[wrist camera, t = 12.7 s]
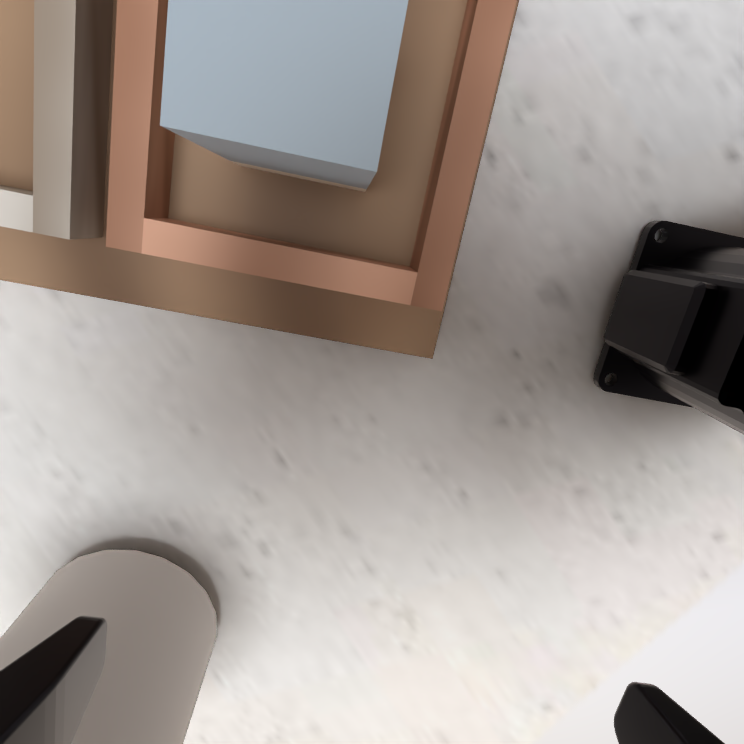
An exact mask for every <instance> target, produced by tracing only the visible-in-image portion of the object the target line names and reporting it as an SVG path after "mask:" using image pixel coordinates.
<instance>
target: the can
mask: <svg viewBox="0 0 744 744" xmlns="http://www.w3.org/2000/svg"><path fill="white" fill-rule="evenodd" d="M82 615H85V616H93V617H102V618H104V619H106V621H107V642H106V658H105V663H104V667H103V670H102V673H101V676H100V678H99V680H98V683H97V685H96V687H95V690H94V692H93V694H92V697H91V699H90V701H89V704H88V706H87V708H86V711H85V713H84V715H83V718H82V720H81V722H80V725H79V727H78V729H77V732H76V734H75V736H74V739H73V741H72V743H71V744H183V742H184V739H185V736H186V732H187V729H188V726H189V723H190V720H191V717H192V713H193V710H194V707H195V704H196V701H197V698H198V694H199V691H200V688H201V685H202V682H203V679H204V676H205V672H206V669H207V666H208V663H209V660H210V657H211V653H212V650H213V647H214V644H215V641H216V638H217V619H216V611H215V609H214V607H213V605H212V603H211V600H210V598H209V596H208V594H207V591H206V590H205V589H204V588H203V587H202V586H201V585H200V584H199V583H198V582H197V581H196V580H195V579H194V578H193V576H192V575H191V574H190V573H189V572H187V571H186V570H184V569H182V568H180V567H179V566H177V565H175V564H174V563H172V562H170V561H169V560H167V559H165V558H163V557H159V556H155V555H152V554H148V553H145V552H141V551H137V550H102V551H99V552H95V553H91V554H87V555H83V556H80V557H77V558H76V559H74V560H73V561H71V562H70V563H68V564H67V565H65V566H63V567H62V568H60V569H59V570H57V571H56V572H55V573H54V575H53V576H52V577H51V578H50V579H49V581H48V582H47V583H46V584H45V585H44V587H43V588H42V589H41V590H40V591H39V593H38V594H37V595H36V596H35V597H34V599H33V600H32V601H31V602H30V603H29V605H28V606H27V607H26V608H25V609H24V611H23V612H22V613H21V614H20V615H19V617H18V618H17V619H16V620H15V621H14V623H13V624H12V625H11V626H10V627H9V629H8V630H7V631H6V632H5V633H4V635H3V636H2V637H1V638H0V670H2V669H3V668H4V667H6V666H7V665H9V664H10V663H12V662H13V661H14V660H16V659H17V658H19V657H20V656H22V655H23V654H25V653H26V652H27V651H29V650H30V649H32V648H33V647H35V646H36V645H37V644H39V643H40V642H42V641H43V640H45V639H46V638H47V637H49V636H50V635H52V634H53V633H55V632H56V631H57V630H59V629H60V628H62V627H63V626H65V625H66V624H67V623H69V622H70V621H72V620H73V619H75V618H76V617H79V616H82Z"/></svg>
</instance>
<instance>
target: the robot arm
mask: <svg viewBox="0 0 744 744" xmlns="http://www.w3.org/2000/svg"><path fill="white" fill-rule="evenodd" d="M658 229H660V230H661V232H662V237H661V238H660V240H659V241H656V240H655V233H656V231H657V230H658ZM604 339H605V344H604V347H603V350H602V352H601V355H600V358H599V361H598V364H597V367H596V370H595V373H594V383H595V384H596V385H597V386H598V387H599V388H601V389H602V390H604V391H607V392H612V393H617V394H623V395H628V396H634V397H639V398H645V399H650V400H656V401H661V402H667V403H672V404H678V405H683V406H689V407H694V408H696V409H698V410H700V411H702V412H704V413H705V414H707V415H709V416H711V417H713V418H715V419H716V420H718V421H720V422H722V423H724V424H726V425H728V426H729V427H731V428H733V429H735V430H737V431H739V432H740V433H742V434H744V238H741V237H736V236H732V235H727V234H723V233H718V232H714V231H709V230H705V229H700V228H696V227H691V226H687V225H682V224H678V223H673V222H669V221H654V222H651V223H649V224H648V225H647V226H646V227H645V228H644V230H643V232H642V235H641V238H640V241H639V244H638V246H637V249H636V252H635V255H634V258H633V261H632V264H631V267H630V270H629V272H628V273H626V274H625V275H624V277H623V280H622V283H621V286H620V289H619V292H618V295H617V298H616V301H615V304H614V307H613V310H612V313H611V316H610V319H609V322H608V325H607V328H606V331H605V334H604ZM610 373H612V378H611V380H610V381H609V382H605V377H606V376H607V375H608V374H610ZM106 642H107V621H106V619H104V618H102V617H93V616H85V615H82V616H79V617H76V618H75V619H73V620H72V621H70V622H69V623H67V624H66V625H65V626H63V627H62V628H60V629H59V630H57V631H56V632H55V633H53V634H52V635H50V636H49V637H47V638H46V639H45V640H43V641H42V642H40V643H39V644H37V645H36V646H35V647H33V648H32V649H30V650H29V651H27V652H26V653H25V654H23V655H22V656H20V657H19V658H17V659H16V660H14V661H13V662H12V663H10V664H9V665H7V666H6V667H4V668H3V669H2V670H0V744H71V743H72V741H73V739H74V736H75V734H76V732H77V729H78V727H79V725H80V722H81V720H82V718H83V715H84V713H85V711H86V708H87V706H88V704H89V701H90V699H91V697H92V694H93V692H94V690H95V687H96V685H97V683H98V680H99V678H100V676H101V673H102V670H103V667H104V663H105V658H106ZM614 728H615V733H616V736H617V739H618V742H619V744H724V743H723V742H722V741H721V740H720V739H718V738H717V737H716V736H715V735H714V734H713V733H711V732H710V731H709V730H708V729H707V728H706V727H704V726H703V725H702V724H701V723H700V722H698V721H697V720H696V719H695V718H694V717H692V716H691V715H690V714H689V713H688V712H687V711H685V710H684V709H683V708H682V707H681V706H679V705H678V704H677V703H676V702H675V701H674V700H672V699H671V698H670V697H669V696H668V695H666V694H665V693H664V692H663V691H662V690H660V689H659V688H658V687H656V686H654V685H652V684H646V683H638V682H632V683H630V684H629V685H628V686H627V688H626V690H625V692H624V695H623V697H622V699H621V702H620V704H619V706H618V708H617V711H616V713H615V716H614Z"/></svg>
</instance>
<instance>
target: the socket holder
mask: <svg viewBox="0 0 744 744" xmlns="http://www.w3.org/2000/svg"><path fill="white" fill-rule="evenodd" d="M518 2H519V0H408V5H407V11H406V16H405V22H404V27H403V33H402V38H401V44H400V49H399V54H398V60H397V65H396V71H395V76H394V82H393V87H392V92H391V98H390V103H389V109H388V114H387V120H386V125H385V131H384V136H383V141H382V147H381V152H380V158H379V163H378V169H377V173H376V174H375V176H374V178H373V179H372V181H371V183H370V185H369V186H368V188H367V190H366V191H365V192H362V191H358V190H353V189H348V188H343V187H338V186H334V185H329V184H324V183H319V182H314V181H310V180H305V179H300V178H295V177H291V176H286V175H281V174H276V173H271V172H267V171H262V170H257V169H252V168H248V167H243V166H239V165H237V164H235V163H233V162H231V161H229V160H227V159H225V158H223V157H221V156H219V155H217V154H215V153H213V152H211V151H209V150H207V149H206V148H204V147H202V146H200V145H198V144H196V143H194V142H192V141H190V140H188V139H186V138H184V137H182V136H180V135H178V134H176V133H174V132H172V131H170V130H168V129H166V128H164V127H162V126H160V116H161V101H162V86H163V71H164V56H165V42H166V27H167V12H168V0H0V280H4V281H10V282H15V283H21V284H26V285H32V286H37V287H43V288H48V289H54V290H59V291H64V292H70V293H75V294H81V295H86V296H92V297H97V298H103V299H108V300H114V301H119V302H125V303H130V304H136V305H141V306H146V307H152V308H157V309H163V310H168V311H174V312H179V313H185V314H190V315H196V316H201V317H207V318H212V319H218V320H223V321H229V322H234V323H239V324H245V325H250V326H256V327H261V328H267V329H272V330H278V331H283V332H289V333H294V334H300V335H305V336H311V337H316V338H322V339H327V340H332V341H338V342H343V343H349V344H354V345H360V346H365V347H371V348H376V349H382V350H387V351H393V352H398V353H404V354H409V355H414V356H420V357H425V358H431V359H432V358H433V354H434V350H435V346H436V342H437V338H438V334H439V329H440V325H441V321H442V317H443V313H444V309H445V305H446V300H447V296H448V292H449V288H450V284H451V280H452V276H453V271H454V267H455V263H456V259H457V255H458V251H459V247H460V242H461V238H462V234H463V230H464V226H465V222H466V218H467V213H468V209H469V205H470V201H471V197H472V193H473V189H474V185H475V180H476V176H477V172H478V168H479V164H480V160H481V156H482V151H483V147H484V143H485V139H486V135H487V131H488V127H489V122H490V118H491V114H492V110H493V106H494V102H495V98H496V93H497V89H498V85H499V81H500V77H501V73H502V69H503V64H504V60H505V56H506V52H507V48H508V44H509V40H510V36H511V31H512V27H513V23H514V19H515V15H516V11H517V7H518Z"/></svg>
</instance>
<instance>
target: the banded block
mask: <svg viewBox="0 0 744 744" xmlns="http://www.w3.org/2000/svg"><path fill="white" fill-rule="evenodd" d="M407 5H408V0H168V12H167V27H166V42H165V56H164V71H163V86H162V101H161V116H160V126H162V127H164V128H166V129H168V130H170V131H172V132H174V133H176V134H178V135H180V136H182V137H184V138H186V139H188V140H190V141H192V142H194V143H196V144H198V145H200V146H202V147H204V148H206V149H207V150H209V151H211V152H213V153H215V154H217V155H219V156H221V157H223V158H225V159H227V160H229V161H231V162H233V163H235V164H237V165H239V166H243V167H248V168H252V169H257V170H262V171H267V172H271V173H276V174H281V175H286V176H291V177H295V178H300V179H305V180H310V181H314V182H319V183H324V184H329V185H334V186H338V187H343V188H348V189H353V190H358V191H362V192H365V191H366V190H367V188H368V186H369V185H370V183H371V181H372V179H373V178H374V176H375V174H376V173H377V169H378V163H379V158H380V152H381V147H382V141H383V136H384V131H385V125H386V120H387V114H388V109H389V103H390V98H391V92H392V87H393V82H394V76H395V71H396V65H397V60H398V54H399V49H400V44H401V38H402V33H403V27H404V22H405V16H406V11H407Z"/></svg>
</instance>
